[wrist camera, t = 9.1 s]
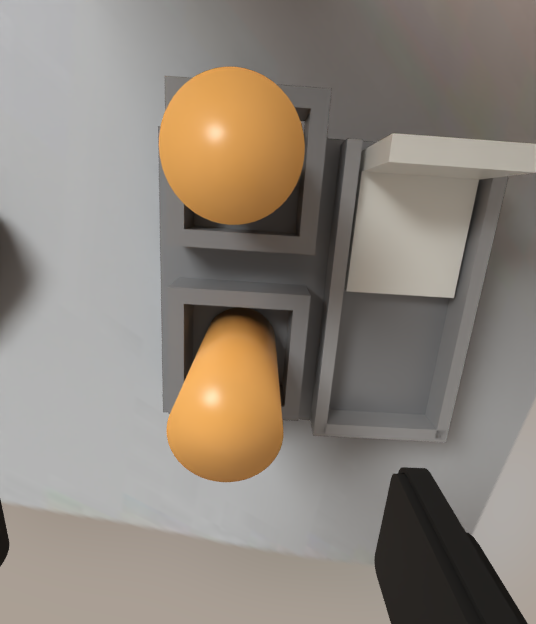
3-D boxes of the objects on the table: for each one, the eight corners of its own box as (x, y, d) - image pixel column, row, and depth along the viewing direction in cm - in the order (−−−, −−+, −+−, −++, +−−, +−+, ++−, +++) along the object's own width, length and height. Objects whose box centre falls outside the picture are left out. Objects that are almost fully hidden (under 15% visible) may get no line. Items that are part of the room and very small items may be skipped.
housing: (172, 107, 20) (53, -18, 9) (471, 130, 21) (724, 37, 9) (174, 388, 25) (99, 541, 14) (416, 401, 26) (538, 560, 14)
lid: (361, 151, 18) (392, 133, 14) (475, 159, 18) (544, 144, 14) (343, 288, 20) (366, 312, 16) (447, 295, 20) (499, 320, 16)
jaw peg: (206, 304, 21) (166, 377, 12) (277, 309, 21) (288, 384, 12) (205, 369, 22) (166, 479, 13) (272, 373, 22) (278, 484, 13)
